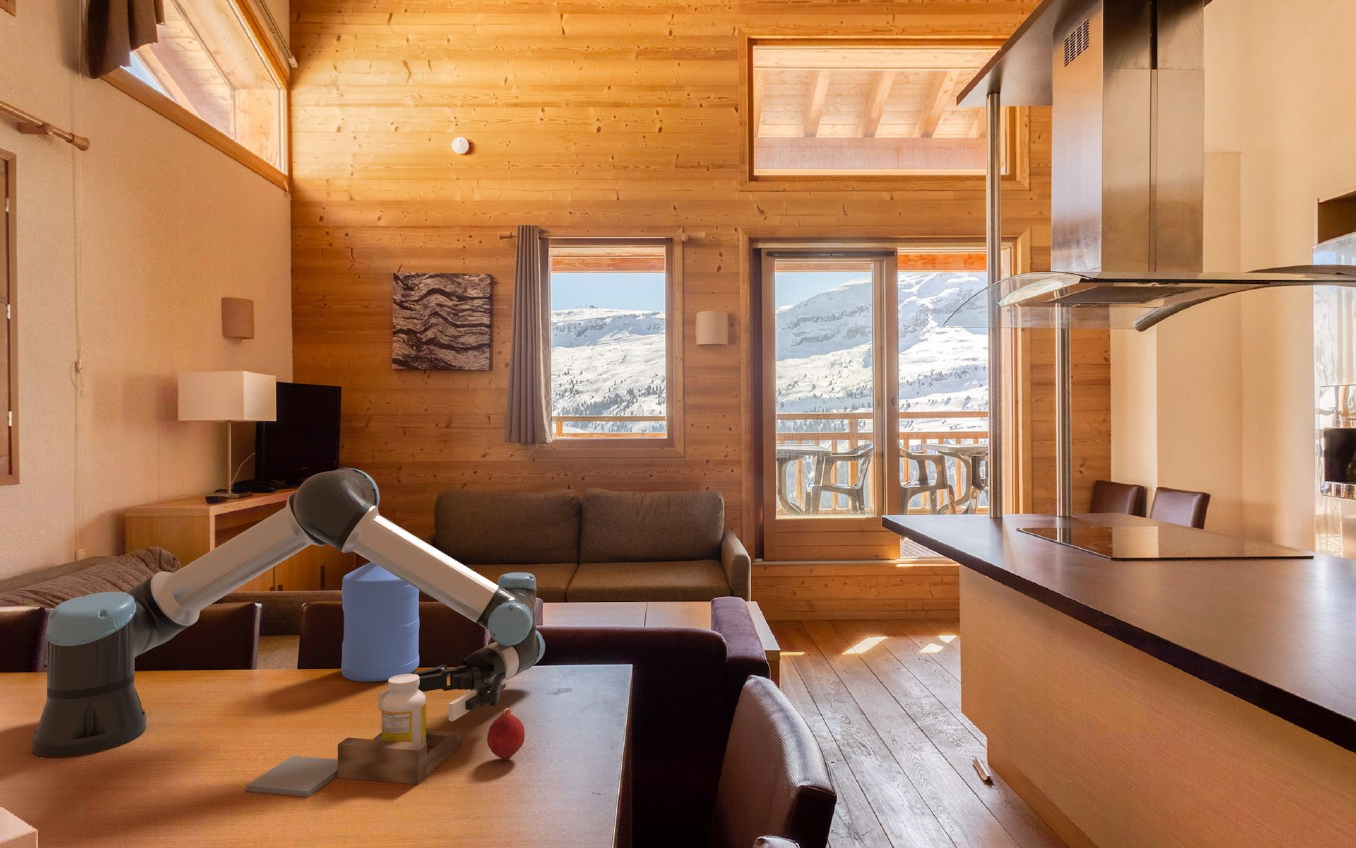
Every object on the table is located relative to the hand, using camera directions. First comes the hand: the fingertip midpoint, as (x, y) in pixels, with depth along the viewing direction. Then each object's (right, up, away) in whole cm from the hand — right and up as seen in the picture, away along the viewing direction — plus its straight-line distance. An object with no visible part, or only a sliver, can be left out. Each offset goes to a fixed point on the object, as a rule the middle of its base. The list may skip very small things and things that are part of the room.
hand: (414, 707), depth 120 cm
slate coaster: (-14, -8, -8) cm, 18 cm away
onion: (+15, -8, -2) cm, 17 cm away
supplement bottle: (-1, -8, -1) cm, 8 cm away
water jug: (-22, -8, +42) cm, 48 cm away
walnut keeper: (-1, -8, -1) cm, 8 cm away
